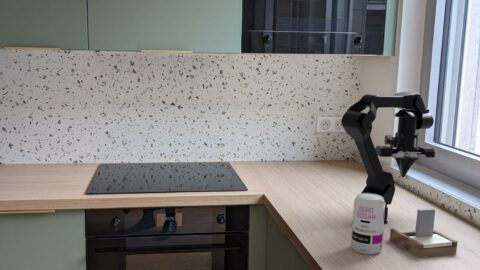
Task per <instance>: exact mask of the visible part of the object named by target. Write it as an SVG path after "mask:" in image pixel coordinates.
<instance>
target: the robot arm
mask: <svg viewBox="0 0 480 270" xmlns="http://www.w3.org/2000/svg"><path fill="white" fill-rule="evenodd" d="M367 108H368V109H369V110H368V111H367V112H363V111H365V110H366V109H367ZM379 108H380V109H381V108H395V109H399V110H398V111H397V112H396V113H395V114H394V117H395V118H398V119H397V120H398V122H397V131H396V132H395V134H394V136H392V135H391V134H385V135H384V145H376V146H375V145H374V142H373V139H372V137H371V133H372V130H373V125H372V124H373V123H374V122H375V120H376V118H377V112H378V111H377V110H378V109H379ZM434 120H435V119H434V116H433V115H432V113H430V109H429V108H426V106H425V104H424V101H423V98H422V96H421V94H420V93H418V92H411V91H410V92H409V91H408V92H407V91H399V92H396V93H395V94H371V93H370V94H364V95H362V97H360V99H359V100H358V101H357V102H355V103H354V104H352V105H350V106H349V108H348V109H346V112H344V114H343V115H342V118H341V120H340V121H341V122H340V123H341V126H342V127H343V130H344V132H345V133H346V134H347V135H348V136H349V137H350V138H351V139H352V140H353V141H354V143H355V145H356V148H357V151H358V153H359V156H360V159H361V161H362V163H363V166H364V168H365V171H366V174H367V178H366V180H365V184H366V186H365V187H364V188H363V189H362V191H361V193H371V194H377V195H380V196H382V197H383V199H384V201H385V215H384V224H388V223H389V221H388V215H389V214H388V213H389V207H388V206H390V205H391V204H392V202H393V199H394V195H395V192H396V185H395V184H396V181H395V180H394V177H393V174H392V173H391V172H387V171H384V169H383V167H382V164H381V161H380V159H379V157H380V158H381V157H382V158H391V157H392V158H393V159H394V160H395V161H396V163H397V166H398V170H399V171H398V172H399V174H400V177H401V178H405V177H406V175H407V174H408V172H409V170H410V169H411V168H412V165H414V163H415V162H416V161H419V157H417V155H424V157H425V158H436V150H435V149H434V148H432V147H431V146H425V145H422V146H421V145H419V146H417V147H415V144H416V139H418V135H417V130H428V129H430V128H432V127H433V125H434V123H435V121H434ZM361 193H360V194H361Z"/></svg>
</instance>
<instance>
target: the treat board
mask: <svg viewBox="0 0 480 270" xmlns="http://www.w3.org/2000/svg"><path fill="white" fill-rule="evenodd" d="M389 231H390V232H389V241H390V242H392V243H394V244H395V245H397V246H399V247H401V248H402V249H403V250H405V251H407V252H409V253H410V254H413V255H415V256H416V257H417V258H419V259H420V258H430V257H438V256H447V255H456V254H457V251H458V250H457V249H458V241H457V240H456V239H454V238H451V237H449V236H448V235H446V234H443V233H441V232H439V231H437V230H435V229H433V234H437V235H439V236H441V237H443V238H445V239H447V240H449V241H451V242H452V246H442V247H432V248H423V247H424V245H423V244H421V243H419V242H418V241H416V240H414V239H412V238H410V237H409V236H415V231H416V230H415V231H414V230H413V231H404V232H401V231H399V230H398V229H395V228H394V227H393V228H392V227H391V228H390V230H389Z"/></svg>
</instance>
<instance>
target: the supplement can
mask: <svg viewBox="0 0 480 270" xmlns="http://www.w3.org/2000/svg"><path fill="white" fill-rule="evenodd" d="M384 215H385V201H384V199H383V197H382V196H380V195H377V194H371V193H358V194H357V195H356V196H355V198H354V200H353V210H352V224H351V225H352V226H351V238H350V239H351V240H350V247H351V248H352V249H353V251H355V252H356V253H358V254H363V255H368V256H369V255H377V254H379V253H380V252H381V251H382V249H383V238H384V237H383V236H384V227H385V225H384V224H385V223H384Z"/></svg>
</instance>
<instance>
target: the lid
mask: <svg viewBox="0 0 480 270" xmlns="http://www.w3.org/2000/svg"><path fill="white" fill-rule="evenodd" d="M435 217H436V209H435V208H432V207H431V208H428V207H427V208H419V209H417V211H416V221H415V236H409V237H410V238H412V239H414V240H416V241H418V242H419V243H421V244H423V245H424V247H423V248H432V247H442V246H452V242H451V241H449V240H447V239H445V238H443V237H441V236H439V235H437V234H433V230H434V226H435Z"/></svg>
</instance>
